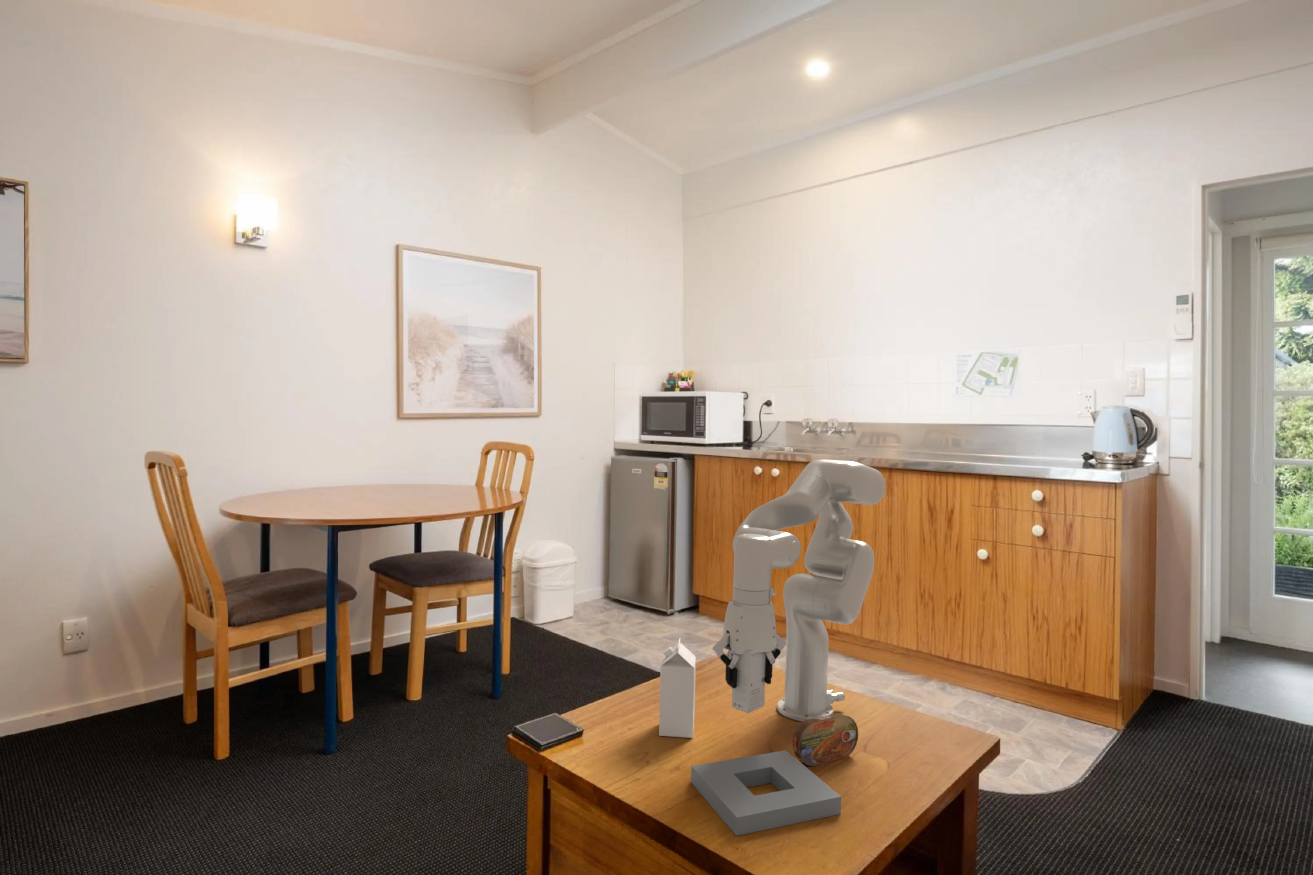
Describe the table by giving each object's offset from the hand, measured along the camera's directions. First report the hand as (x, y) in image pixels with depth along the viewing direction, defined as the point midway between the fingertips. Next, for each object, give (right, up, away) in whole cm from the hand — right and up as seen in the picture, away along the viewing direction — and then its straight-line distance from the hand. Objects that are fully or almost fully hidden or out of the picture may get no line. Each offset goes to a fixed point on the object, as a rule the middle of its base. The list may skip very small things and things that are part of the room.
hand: (748, 683), depth 146 cm
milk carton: (-14, -13, +9) cm, 22 cm away
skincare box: (0, -5, 0) cm, 5 cm away
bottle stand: (0, -14, -17) cm, 23 cm away
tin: (+15, -15, -2) cm, 21 cm away
